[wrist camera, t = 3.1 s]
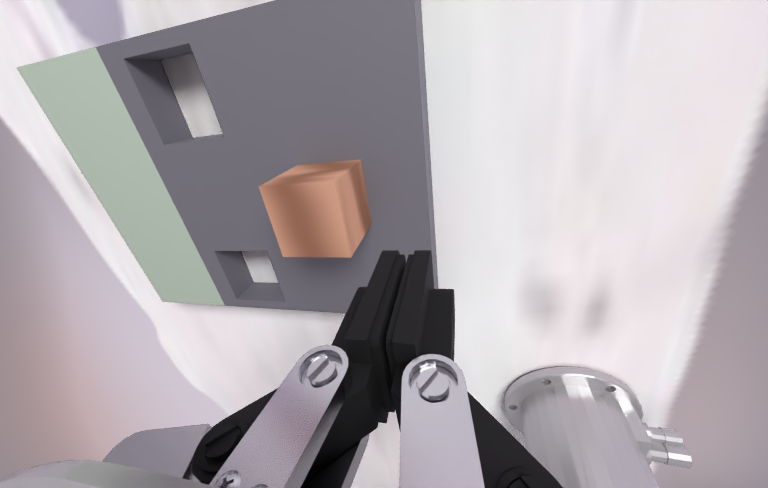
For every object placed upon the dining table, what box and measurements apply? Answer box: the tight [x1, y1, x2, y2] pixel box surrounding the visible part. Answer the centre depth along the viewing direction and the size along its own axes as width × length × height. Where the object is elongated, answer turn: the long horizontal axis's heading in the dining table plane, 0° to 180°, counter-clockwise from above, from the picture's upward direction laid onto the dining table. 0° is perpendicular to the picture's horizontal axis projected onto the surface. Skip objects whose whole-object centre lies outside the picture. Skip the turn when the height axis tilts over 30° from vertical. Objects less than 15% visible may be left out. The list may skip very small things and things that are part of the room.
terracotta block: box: [259, 159, 372, 258], centre depth 21 cm, size 5×5×5 cm
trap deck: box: [17, 0, 438, 313], centre depth 26 cm, size 32×24×3 cm
